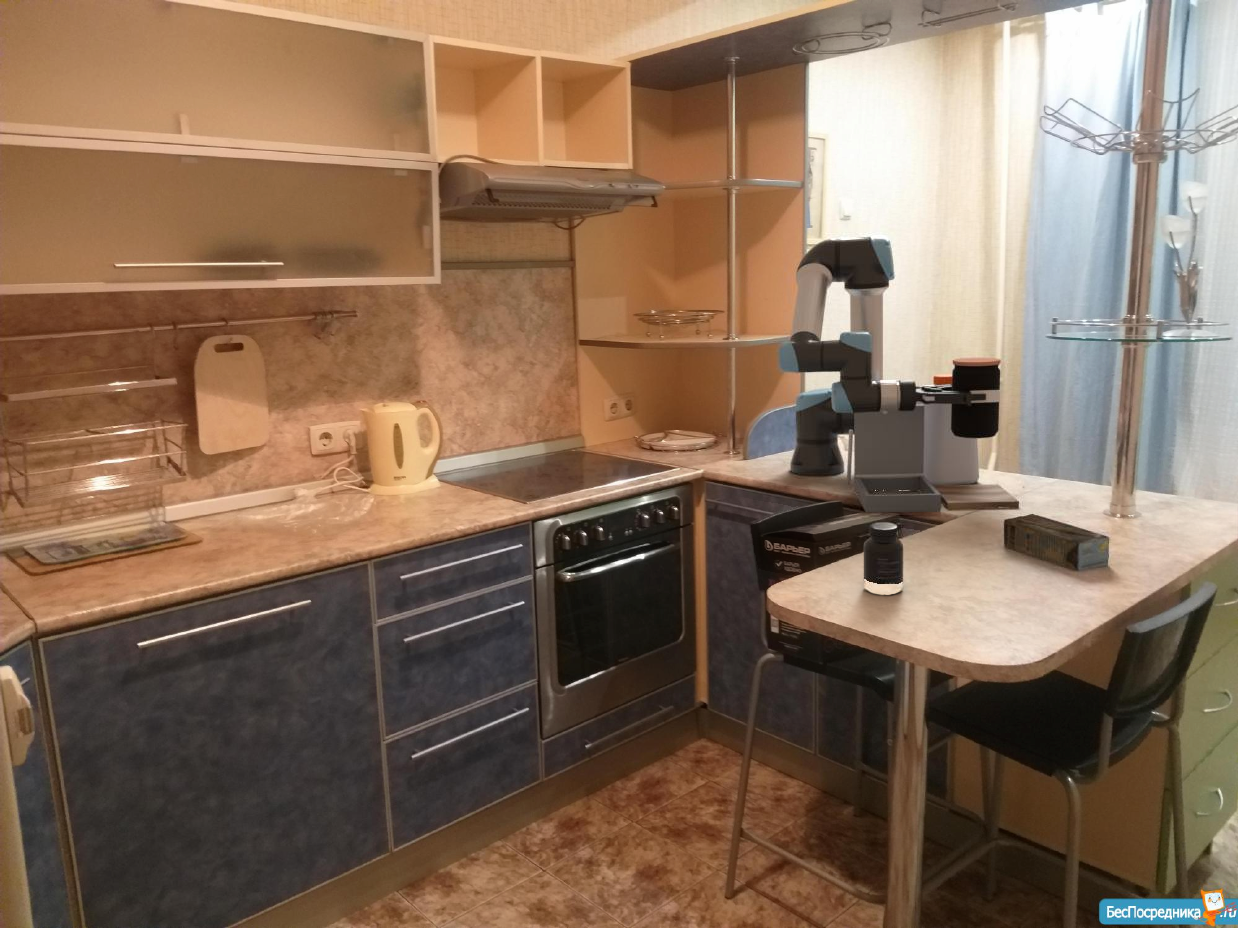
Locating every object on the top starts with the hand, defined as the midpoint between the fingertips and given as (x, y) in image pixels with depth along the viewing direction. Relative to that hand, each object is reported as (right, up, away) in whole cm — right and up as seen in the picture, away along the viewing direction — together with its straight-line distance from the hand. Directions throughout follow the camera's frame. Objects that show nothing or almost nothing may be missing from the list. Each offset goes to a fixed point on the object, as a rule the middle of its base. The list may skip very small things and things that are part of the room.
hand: (993, 392), depth 221 cm
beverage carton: (-4, -35, -40) cm, 53 cm away
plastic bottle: (-2, -21, +27) cm, 35 cm away
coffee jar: (-4, -10, +3) cm, 11 cm away
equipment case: (-21, -25, +11) cm, 35 cm away
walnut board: (-2, -25, +6) cm, 26 cm away
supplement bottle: (-41, -40, -54) cm, 79 cm away
